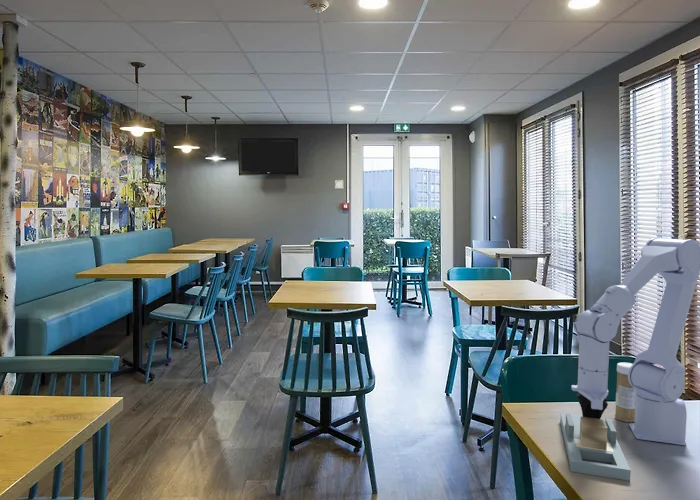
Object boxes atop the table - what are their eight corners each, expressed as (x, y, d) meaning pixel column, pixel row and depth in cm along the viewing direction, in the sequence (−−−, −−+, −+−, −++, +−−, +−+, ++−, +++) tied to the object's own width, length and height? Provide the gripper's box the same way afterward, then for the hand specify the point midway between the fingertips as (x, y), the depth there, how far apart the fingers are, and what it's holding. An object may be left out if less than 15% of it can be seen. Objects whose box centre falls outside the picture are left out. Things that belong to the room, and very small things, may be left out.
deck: (607, 427, 116) (607, 408, 116) (630, 480, 92) (631, 456, 92) (560, 421, 119) (561, 403, 119) (571, 471, 95) (572, 448, 95)
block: (603, 440, 104) (604, 419, 104) (606, 450, 100) (607, 428, 100) (579, 437, 106) (580, 416, 105) (581, 446, 102) (582, 424, 101)
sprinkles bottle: (619, 414, 124) (621, 360, 123) (639, 419, 121) (641, 365, 120) (611, 418, 121) (613, 363, 120) (631, 424, 118) (634, 368, 117)
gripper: (569, 357, 114) (566, 415, 115) (576, 375, 100) (573, 441, 101) (603, 360, 112) (600, 419, 113) (615, 379, 98) (612, 447, 99)
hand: (590, 430), depth 107 cm, fingers closed
